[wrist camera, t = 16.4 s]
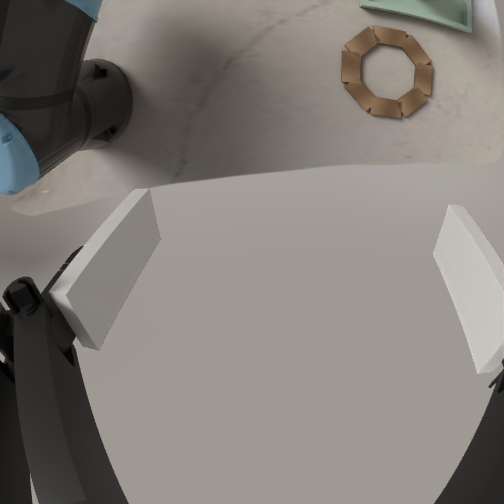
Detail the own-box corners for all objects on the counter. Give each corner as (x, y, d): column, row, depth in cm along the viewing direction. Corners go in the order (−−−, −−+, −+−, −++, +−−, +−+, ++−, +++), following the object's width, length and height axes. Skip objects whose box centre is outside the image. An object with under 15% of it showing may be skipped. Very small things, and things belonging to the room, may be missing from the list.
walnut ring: (340, 110, 38) (340, 111, 37) (341, 21, 30) (342, 21, 29) (425, 121, 36) (427, 123, 35) (431, 38, 28) (433, 38, 27)
